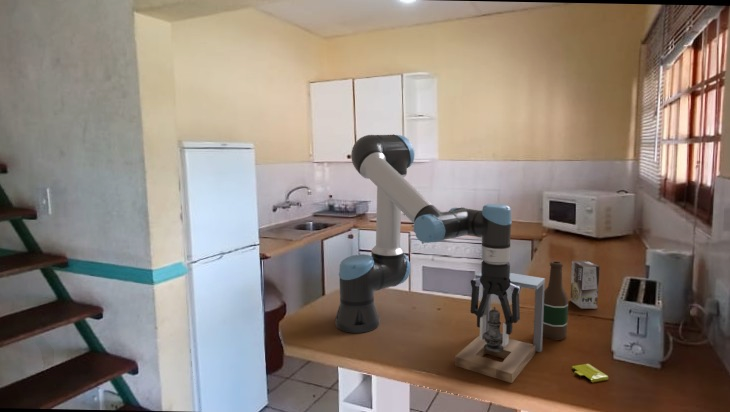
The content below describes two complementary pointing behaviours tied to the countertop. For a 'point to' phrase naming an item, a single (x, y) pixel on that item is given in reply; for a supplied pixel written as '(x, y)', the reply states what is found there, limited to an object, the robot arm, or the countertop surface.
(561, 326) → the beer bottle
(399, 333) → the countertop surface
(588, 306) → the coffee box
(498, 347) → the grey chess piece
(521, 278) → the grey arch frame
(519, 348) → the socket
